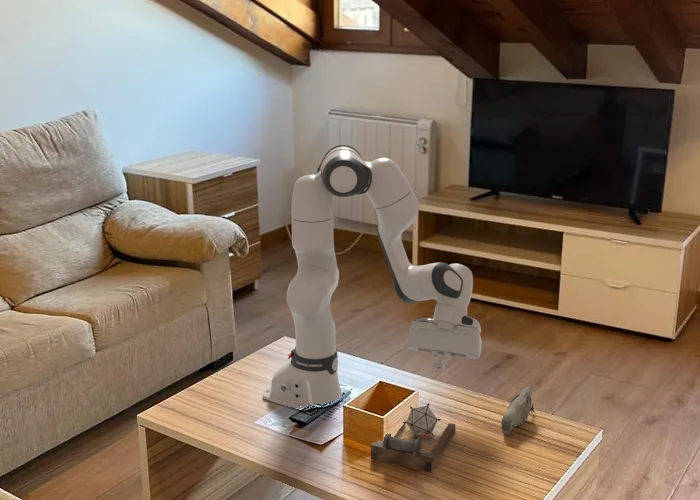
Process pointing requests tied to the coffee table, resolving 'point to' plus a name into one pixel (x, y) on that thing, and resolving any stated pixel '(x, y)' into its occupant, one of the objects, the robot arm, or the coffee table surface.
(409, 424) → the game die
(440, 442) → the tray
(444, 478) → the coffee table surface
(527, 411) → the decorative bird
